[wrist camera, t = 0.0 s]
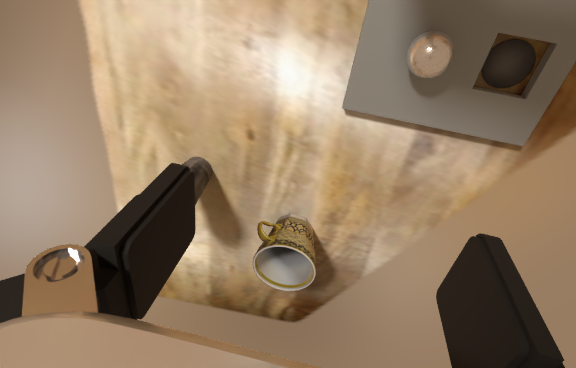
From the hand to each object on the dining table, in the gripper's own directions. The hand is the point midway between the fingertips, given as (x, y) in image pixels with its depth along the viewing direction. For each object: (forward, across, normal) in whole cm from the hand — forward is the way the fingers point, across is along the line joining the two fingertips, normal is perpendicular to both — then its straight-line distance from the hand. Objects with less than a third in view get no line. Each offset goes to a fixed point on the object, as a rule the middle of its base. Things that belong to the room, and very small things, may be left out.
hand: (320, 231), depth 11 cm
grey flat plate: (+37, -13, -1) cm, 39 cm away
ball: (+33, -9, -1) cm, 34 cm away
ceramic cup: (+37, +3, +31) cm, 48 cm away
